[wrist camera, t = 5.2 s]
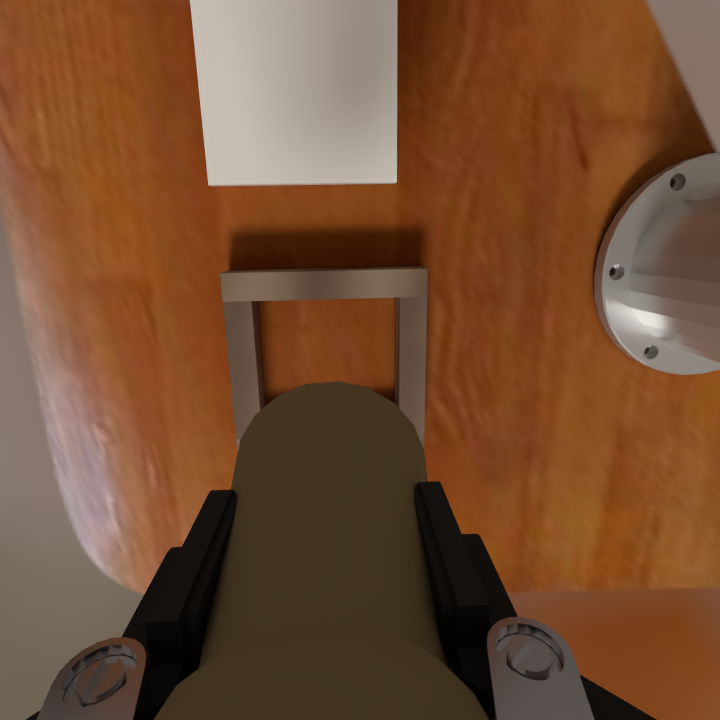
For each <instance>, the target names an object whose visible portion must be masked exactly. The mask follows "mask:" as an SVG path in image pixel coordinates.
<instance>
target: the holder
mask: <svg viewBox="0 0 720 720" xmlns="http://www.w3.org/2000/svg"><path fill="white" fill-rule="evenodd" d="M220 277H221V287H222V298H223V308H224V318H225V328H226V338H227V349H228V359H229V369H230V379H231V389H232V400H233V410H234V420H235V430H236V440H237V450H238V449H239V444H240V439H241V438H242V436H243V434H244V433H245V431H246V429H247V428H248V426H249V424H250V423H251V421H252V419H253V418H254V416H255V415H256V414H257V413H258V412H259V411H260V410H262V409H263V408H264V407H265V406H266V400H265V387H264V374H263V362H262V349H261V336H260V323H259V310H258V301H275V300H315V299H355V298H395V404H396V405H397V406H398V407H399V409H400V410H401V411H402V412H403V413H404V414H405V415H406V416H407V418H408V419H409V420H410V421H411V422H412V423H413V424H414V426H415V429H416V431H417V434H418V436H419V439H420V441H421V444H422V446H423V449H424V424H425V377H426V330H427V282H428V269H427V268H424V267H422V266H411V267H365V268H320V269H274V270H229V271H226V272H223V273H220Z"/></svg>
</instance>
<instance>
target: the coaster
mask: <svg viewBox="0 0 720 720" xmlns="http://www.w3.org/2000/svg"><path fill="white" fill-rule="evenodd" d="M190 4H191V14H192V24H193V34H194V44H195V55H196V65H197V75H198V85H199V95H200V105H201V115H202V125H203V135H204V145H205V155H206V165H207V175H208V185H210V186H259V185H334V184H396V183H397V0H190Z"/></svg>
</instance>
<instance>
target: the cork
mask: <svg viewBox="0 0 720 720" xmlns="http://www.w3.org/2000/svg"><path fill="white" fill-rule="evenodd" d="M418 482H428V480H427V471H426V462H425V453H424V449H423V446H422V444H421V441H420V439H419V436H418V434H417V431H416V429H415V426H414V424H413V423H412V422H411V421H410V420H409V419H408V418H407V416H406V415H405V414H404V413H403V412H402V411H401V410H400V409H399V407H398V406H397V405H396V404H395V403H393V402H392V401H390V400H388V399H387V398H385V397H383V396H381V395H380V394H378V393H376V392H374V391H373V390H371V389H369V388H365V387H361V386H356V385H352V384H347V383H343V382H326V383H314V384H306V385H303V386H301V387H298V388H296V389H293V390H291V391H288V392H286V393H284V394H281V395H279V396H277V397H276V398H275V399H274V400H272V401H271V402H270V403H269V404H268V405H266V406H265V407H264V408H263V409H262V410H260V411H259V412H258V413H257V414H256V415H255V416H254V418H253V419H252V421H251V423H250V424H249V426H248V428H247V429H246V431H245V433H244V434H243V436H242V438H241V439H240V444H239V449H238V454H237V459H236V465H235V470H234V475H233V481H232V486H231V490H234V491H235V493H236V494H235V495H237V496H238V498H237V507H236V511H235V515H234V519H233V523H232V527H231V531H230V535H229V539H228V543H227V547H226V551H225V555H224V559H223V562H222V566H221V570H220V574H219V578H218V582H217V586H216V590H215V594H214V598H213V602H212V606H211V610H210V614H209V618H208V622H207V626H206V631H205V636H204V642H203V647H202V652H201V658H200V663H199V668H198V670H196V671H195V672H194V673H192V674H191V675H190V676H188V677H187V678H186V679H184V680H183V681H182V682H180V683H179V684H178V685H176V687H175V688H174V690H173V691H172V693H171V694H170V696H169V697H168V699H167V700H166V702H165V703H164V705H163V706H162V708H161V709H160V711H159V712H158V714H157V715H156V717H155V718H154V720H489V718H488V717H487V715H486V713H485V711H484V710H483V708H482V706H481V705H480V703H479V701H478V700H477V698H476V696H475V694H474V693H473V692H472V691H471V690H470V689H469V688H468V687H467V686H466V685H465V684H464V683H463V682H462V681H461V680H460V679H459V678H458V677H457V676H456V675H455V674H453V673H452V672H451V671H450V670H449V669H448V661H447V657H446V655H445V653H444V651H443V648H442V643H441V637H440V632H439V626H438V620H437V615H436V609H435V604H434V598H433V593H432V587H431V581H430V576H429V570H428V565H427V560H426V555H425V551H424V546H423V541H422V536H421V531H420V527H419V522H418V517H417V512H416V508H415V503H414V489H415V488H418V487H417V483H418Z"/></svg>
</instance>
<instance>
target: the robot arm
mask: <svg viewBox="0 0 720 720" xmlns="http://www.w3.org/2000/svg"><path fill="white" fill-rule="evenodd" d="M610 270H611V273H610V274H609V272H610ZM594 295H595V301H596V306H597V310H598V315H599V317H600V320H601V322H602V324H603V326H604V328H605V331H606V333H607V334H608V335H609V337H610V338H611V339H612V341H613V342H614V343H615V345H616V346H617V347H618V348H619V349H621V350H622V351H623V352H624V353H625V354H627V355H628V356H629V357H630V358H632V359H634V360H636V361H638V362H640V363H642V364H644V365H646V366H648V367H651V368H654V369H657V370H659V371H662V372H667V373H673V374H679V375H686V374H702V373H706V372H711V371H716V370H720V152H719V153H711V154H706V155H702V156H698V157H693V158H689V159H686V160H684V161H681V162H679V163H677V164H674V165H672V166H670V167H667V168H665V169H664V170H662V171H661V172H659V173H658V174H656V175H655V176H653V177H652V178H650V179H649V180H647V181H646V182H645V183H644V184H643V185H642V186H641V187H640V188H639V189H637V190H636V191H635V192H634V193H633V194H632V195H631V196H630V197H629V198H628V200H627V201H626V202H625V203H624V205H623V206H622V207H621V209H620V210H619V211H618V212H617V214H616V215H615V217H614V219H613V221H612V223H611V224H610V226H609V228H608V230H607V232H606V234H605V236H604V238H603V241H602V244H601V247H600V250H599V253H598V256H597V262H596V268H595V274H594ZM417 487H418V488H415V489H414V503H415V508H416V512H417V517H418V522H419V527H420V531H421V536H422V541H423V546H424V551H425V555H426V560H427V565H428V570H429V576H430V581H431V587H432V593H433V598H434V604H435V609H436V615H437V620H438V626H439V632H440V637H441V643H442V648H443V651H444V653H445V655H446V657H447V661H448V669H449V670H450V671H451V672H452V673H453V674H455V675H456V676H457V677H458V678H459V679H460V680H461V681H462V682H463V683H464V684H465V685H466V686H467V687H468V688H469V689H470V690H471V691H472V692H473V693H474V694H475V696H476V698H477V700H478V701H479V703H480V705H481V706H482V708H483V710H484V711H485V713H486V715H487V717H488V718H489V720H656V719H654V718H653V717H651V716H649V715H648V714H646V713H644V712H643V711H641V710H639V709H637V708H636V707H634V706H632V705H631V704H629V703H627V702H625V701H624V700H622V699H621V698H619V697H617V696H615V695H613V694H612V693H610V692H608V691H607V690H605V689H603V688H602V687H600V686H598V685H596V684H595V683H593V682H592V681H590V680H588V679H587V678H585V677H583V676H581V675H580V674H579V672H578V669H577V666H576V663H575V660H574V657H573V654H572V652H571V650H570V648H569V646H568V645H567V643H566V642H565V641H564V640H563V639H562V637H561V636H560V635H559V634H558V633H557V632H555V631H554V630H552V629H551V628H550V627H548V626H547V625H545V624H543V623H540V622H538V621H536V620H533V619H529V618H524V617H518V616H517V614H516V612H515V610H514V608H513V605H512V603H511V601H510V599H509V597H508V595H507V593H506V590H505V588H504V586H503V584H502V582H501V580H500V578H499V575H498V573H497V571H496V569H495V567H494V565H493V563H492V560H491V558H490V556H489V554H488V552H487V550H486V548H485V545H484V543H483V541H482V539H481V537H480V536H479V535H478V534H461V532H460V529H459V527H458V524H457V522H456V519H455V517H454V515H453V512H452V510H451V507H450V505H449V502H448V500H447V497H446V495H445V492H444V490H443V487H442V485H441V483H440V482H439V481H436V482H418V483H417ZM235 494H236V493H235V491H234V490H212V491H210V492H209V494H208V496H207V498H206V500H205V502H204V504H203V506H202V508H201V510H200V512H199V514H198V516H197V518H196V520H195V522H194V524H193V526H192V528H191V530H190V532H189V534H188V536H187V538H186V540H185V542H184V544H183V546H182V547H173V548H171V549H170V550H169V551H168V552H167V554H166V556H165V558H164V559H163V561H162V563H161V565H160V567H159V569H158V571H157V572H156V574H155V576H154V578H153V580H152V582H151V584H150V585H149V587H148V589H147V591H146V593H145V595H144V596H143V598H142V600H141V602H140V604H139V606H138V608H137V609H136V611H135V613H134V615H133V617H132V619H131V620H130V622H129V624H128V626H127V628H126V630H125V632H124V634H123V636H122V637H119V638H110V639H108V640H104V641H101V642H97V643H96V644H94V645H92V646H90V647H88V648H86V649H84V650H82V651H81V652H80V653H78V654H77V655H76V656H75V657H73V658H72V659H70V661H69V662H68V663H67V664H66V665H65V666H64V667H63V668H62V669H61V670H60V671H59V673H58V675H57V676H56V678H55V680H54V681H53V683H52V685H51V687H50V690H49V692H48V694H47V697H46V699H45V701H44V703H43V706H42V708H41V710H40V711H39V712H37V713H35V714H34V715H32V716H31V717H29V718H28V719H26V720H154V718H155V717H156V715H157V714H158V712H159V711H160V709H161V708H162V706H163V705H164V703H165V702H166V700H167V699H168V697H169V696H170V694H171V693H172V691H173V690H174V688H175V687H176V685H178V684H179V683H180V682H182V681H183V680H184V679H186V678H187V677H188V676H190V675H191V674H192V673H194V672H195V671H196V670H198V668H199V663H200V658H201V652H202V647H203V642H204V636H205V631H206V626H207V622H208V618H209V614H210V610H211V606H212V602H213V598H214V594H215V590H216V586H217V582H218V578H219V574H220V570H221V566H222V562H223V559H224V555H225V551H226V547H227V543H228V539H229V535H230V531H231V527H232V523H233V519H234V515H235V511H236V507H237V498H238V496H237V495H235Z"/></svg>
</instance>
